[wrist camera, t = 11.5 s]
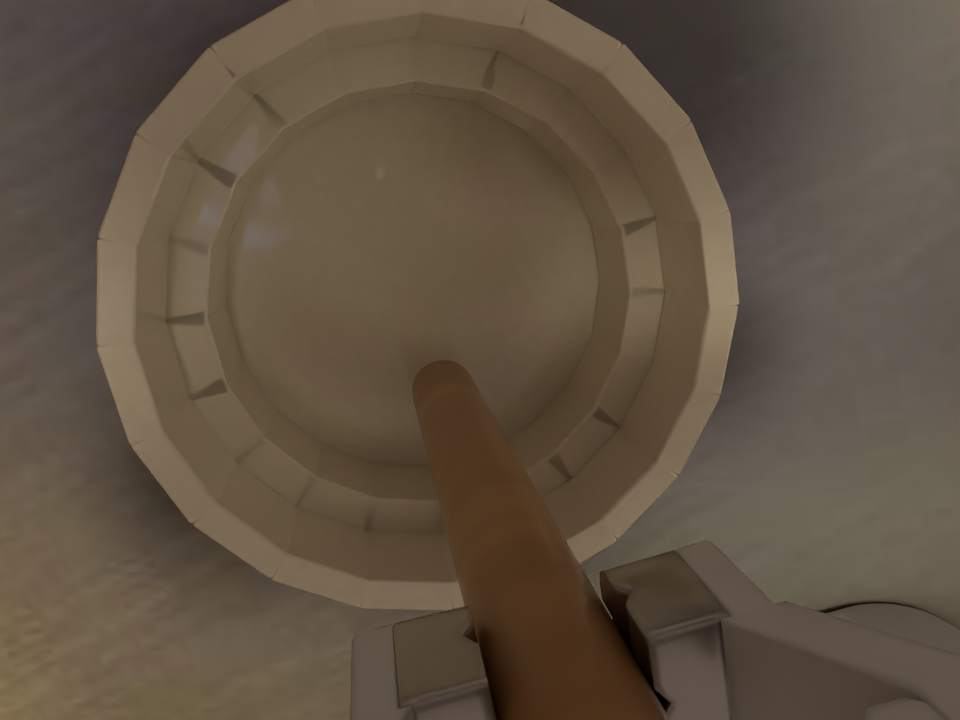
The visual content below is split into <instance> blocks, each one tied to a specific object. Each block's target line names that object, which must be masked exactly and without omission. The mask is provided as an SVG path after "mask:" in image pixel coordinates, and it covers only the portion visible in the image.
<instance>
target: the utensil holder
mask: <svg viewBox="0 0 960 720" xmlns="http://www.w3.org/2000/svg"><path fill="white" fill-rule="evenodd" d="M825 614H829V615H832V616H835V617H839V618H842V619H845V620H848V621H852V622H855V623H858V624H862V625H865V626H868V627H872V628H875V629H878V630H881V631H885V632H888V633H891V634H895V635H898V636H901V637H905V638H908V639H911V640H914V641H918V642H921V643H924V644H928V645H931V646H934V647H937V648H941V649H944V650H947V651H951V652H954V653H957V654H960V630H959V629H957V628H955V627H954V626H952V625H951V624H949V623H947V622H946V621H944V620H942V619H940V618H938V617H936V616H934V615H932V614H930V613H927V612H924V611H922V610H919V609H915V608H911V607H907V606H901V605H896V604H861V605H856V606H851V607H847V608H844V609H840V610H836V611H832V612H829V613H825Z"/></svg>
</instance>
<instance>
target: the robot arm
mask: <svg viewBox="0 0 960 720" xmlns="http://www.w3.org/2000/svg"><path fill="white" fill-rule="evenodd" d="M600 587H601V593H602V600H603V602H604V603H605V605H606V607H607V609H608V610H609V612H610V614H611V616H612V618H613V619H612V621H613V622H614V624H615V626H616V627H617V629H618V631H619V633H620V634H621V636H622V638H623V639H624V641H625V643H626V645H627V646H628V648H629V650H630V652H631V653H632V655H633V657H634V658H635V660H636V662H637V664H638V665H639V667H640V669H641V670H642V672H643V674H644V676H645V677H646V679H647V681H648V683H649V684H650V686H651V688H652V689H653V691H654V693H655V695H656V696H657V698H658V700H659V701H660V703H661V705H662V707H663V708H664V710H665V712H666V713H667V715H668V717H669V719H670V720H960V654H957V653H954V652H951V651H947V650H944V649H941V648H937V647H934V646H931V645H928V644H924V643H921V642H918V641H914V640H911V639H908V638H905V637H901V636H898V635H895V634H891V633H888V632H885V631H881V630H878V629H875V628H872V627H868V626H865V625H862V624H858V623H855V622H852V621H848V620H845V619H842V618H839V617H835V616H832V615H829V614H825V613H822V612H819V611H815V610H812V609H809V608H806V607H802V606H799V605H796V604H792V603H789V602H786V601H785V602H781V603H777V604H774V603H773V602H772V601H771V600H770V599H769V598H768V597H767V596H766V595H765V594H764V593H763V592H762V591H761V590H760V589H759V588H758V587H757V586H756V585H755V584H754V583H753V582H751V581H750V580H749V579H748V578H747V577H746V576H745V575H744V574H743V573H742V572H741V571H740V570H739V569H738V568H737V567H736V566H735V565H734V564H733V563H732V562H731V561H730V560H729V559H728V558H727V557H726V556H725V555H724V554H723V553H722V552H721V551H720V550H719V549H718V548H717V547H716V546H715V545H714V544H713V543H712V542H710V541H706V540H705V541H701V542H698V543H695V544H692V545H688V546H685V547H682V548H679V549H675V550H672V551H670V552H667V553H663V554H660V555H656V556H653V557H650V558H646V559H643V560H639V561H636V562H632V563H629V564H626V565H622V566H619V567H615V568H612V569H608V570H605V571H601V572H600ZM350 720H497V719H496V714H495V710H494V706H493V702H492V697H491V693H490V689H489V684H488V680H487V676H486V672H485V668H484V664H483V660H482V656H481V651H480V647H479V644H478V642H477V637H476V633H475V629H474V624H473V620H472V617H471V613H470V609H469V606H465V607H460V608H456V609H452V610H448V611H444V612H440V613H436V614H432V615H428V616H423V617H419V618H415V619H411V620H407V621H403V622H399V623H395V624H394V626H393V625H391V624H389V625H386V626H382V627H378V628H375V629H371V630H368V631H364V632H360V633H357V634H355V635H354V637H353V639H352V657H351V708H350Z"/></svg>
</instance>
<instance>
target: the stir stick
mask: <svg viewBox="0 0 960 720" xmlns="http://www.w3.org/2000/svg"><path fill="white" fill-rule="evenodd" d="M412 396H413V401H414V405H415V409H416V413H417V417H418V421H419V425H420V429H421V433H422V437H423V441H424V445H425V449H426V453H427V457H428V461H429V465H430V469H431V473H432V477H433V481H434V485H435V489H436V493H437V497H438V501H439V505H440V509H441V513H442V517H443V521H444V525H445V530H446V534H447V538H448V542H449V546H450V550H451V554H452V558H453V562H454V566H455V570H456V574H457V578H458V582H459V586H460V590H461V594H462V598H463V602H464V606H469V609H470V613H471V617H472V620H473V624H474V629H475V633H476V637H477V642H478V644H479V647H480V651H481V656H482V660H483V664H484V668H485V672H486V676H487V680H488V684H489V689H490V693H491V697H492V702H493V706H494V710H495V714H496V719H497V720H670V719H669V717H668V715H667V713H666V712H665V710H664V708H663V707H662V705H661V703H660V701H659V700H658V698H657V696H656V695H655V693H654V691H653V689H652V688H651V686H650V684H649V683H648V681H647V679H646V677H645V676H644V674H643V672H642V670H641V669H640V667H639V665H638V664H637V662H636V660H635V658H634V657H633V655H632V653H631V652H630V650H629V648H628V646H627V645H626V643H625V641H624V639H623V638H622V636H621V634H620V633H619V631H618V629H617V627H616V626H615V624H614V622H613V621H612V619H611V617H610V615H609V614H608V612H607V610H606V608H605V607H604V605H603V603H602V602H601V600H600V598H599V596H598V595H597V593H596V591H595V590H594V588H593V586H592V584H591V583H590V581H589V579H588V578H587V576H586V574H585V572H584V571H583V569H582V567H581V565H580V564H579V562H578V560H577V559H576V557H575V555H574V553H573V552H572V550H571V548H570V547H569V545H568V543H567V541H566V540H565V538H564V536H563V534H562V533H561V531H560V529H559V528H558V526H557V524H556V522H555V521H554V519H553V517H552V516H551V514H550V512H549V510H548V509H547V507H546V505H545V503H544V502H543V500H542V498H541V497H540V495H539V493H538V491H537V490H536V488H535V486H534V485H533V483H532V481H531V479H530V478H529V476H528V474H527V473H526V471H525V469H524V467H523V466H522V464H521V462H520V460H519V459H518V457H517V455H516V454H515V452H514V450H513V448H512V447H511V445H510V443H509V442H508V440H507V438H506V436H505V435H504V433H503V431H502V429H501V428H500V426H499V424H498V423H497V421H496V419H495V417H494V416H493V414H492V412H491V411H490V409H489V407H488V405H487V404H486V402H485V400H484V398H483V397H482V395H481V393H480V392H479V390H478V388H477V386H476V385H475V383H474V381H473V380H472V378H471V376H470V374H469V373H468V371H467V370H466V369H465V368H464V367H463V366H461V365H460V364H458V363H456V362H453V361H449V360H439V361H434V362H431V363H429V364H427V365H426V366H424V367H423V368H422V369H421V370H420V371H419V372H418V374H417V375H416V377H415V379H414V381H413V385H412Z"/></svg>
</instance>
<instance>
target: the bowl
mask: <svg viewBox="0 0 960 720" xmlns="http://www.w3.org/2000/svg"><path fill="white" fill-rule="evenodd" d="M210 47H211V48H210ZM210 47H208V48H206V50H205V51H204V52H203V53H202V54H201V56H200V57H199V58H198V59H197V60H196V61H195V63H194V64H193V65H192V66H191V67H190V69H189V70H188V71H187V72H186V73H185V74H184V76H183V77H182V78H181V79H180V80H179V82H178V83H177V84H176V85H175V86H174V87H173V89H172V90H171V91H170V92H169V93H168V94H167V96H166V97H165V98H164V99H163V100H162V102H161V103H160V104H159V105H158V106H157V107H156V109H155V110H154V111H153V112H152V113H151V115H150V116H149V117H148V118H147V119H146V120H145V122H144V123H143V124H142V125H141V126H140V128H139V129H138V130H137V132H136V133H137V135H135V136H134V138H133V141H132V143H131V146H130V149H129V151H128V154H127V157H126V160H125V162H124V165H123V168H122V170H121V173H120V176H119V179H118V181H117V184H116V187H115V189H114V192H113V195H112V198H111V200H110V203H109V206H108V208H107V211H106V214H105V217H104V219H103V222H102V225H101V228H100V230H99V233H98V237H99V238H100V239H98V241H97V279H96V343H97V345H98V347H97V351H98V354H99V357H100V360H101V363H102V366H103V369H104V371H105V374H106V377H107V380H108V383H109V386H110V389H111V392H112V395H113V398H114V401H115V403H116V406H117V409H118V412H119V415H120V418H121V421H122V424H123V427H124V430H125V433H126V436H127V438H128V441H129V443H130V444H132V445H131V446H132V448H133V450H134V451H135V452H136V454H137V455H138V456H139V458H140V459H141V460H142V461H143V463H144V464H145V465H146V467H147V468H148V469H149V471H150V472H151V473H152V474H153V476H154V477H155V478H156V480H157V481H158V482H159V484H160V485H161V486H162V487H163V489H164V490H165V491H166V493H167V494H168V495H169V497H170V498H171V499H172V500H173V502H174V503H175V504H176V506H177V507H178V508H179V510H180V511H181V512H182V513H183V515H184V516H185V517H186V519H187V520H188V521H189V522H190V523H193V525H194V526H195V527H196V528H197V529H199V530H200V531H202V532H203V533H204V534H206V535H207V536H209V537H210V538H212V539H213V540H215V541H216V542H217V543H219V544H220V545H222V546H223V547H225V548H226V549H228V550H229V551H231V552H232V553H233V554H235V555H236V556H238V557H239V558H241V559H242V560H244V561H245V562H246V563H248V564H249V565H251V566H252V567H254V568H255V569H257V570H258V571H260V572H261V573H262V574H264V575H265V576H267V577H269V578H271V577H272V580H273V581H276V582H279V583H282V584H285V585H288V586H291V587H295V588H298V589H301V590H304V591H307V592H310V593H314V594H317V595H320V596H323V597H326V598H329V599H333V600H336V601H339V602H342V603H345V604H349V605H352V606H355V607H358V608H360V607H361V608H362V609H411V610H452V608H453V609H456V608H460V607H464V602H463V598H462V594H461V590H460V586H459V582H458V578H457V574H456V570H455V566H454V562H453V558H452V554H451V550H450V546H449V542H448V538H447V534H446V530H445V525H444V521H443V517H442V513H441V509H440V505H439V501H438V497H437V493H436V489H435V485H434V481H433V477H432V473H431V469H430V465H429V461H428V457H427V453H426V449H425V445H424V441H423V437H422V433H421V429H420V425H419V421H418V417H417V413H416V409H415V405H414V401H413V396H412V385H413V381H414V379H415V377H416V375H417V374H418V372H419V371H420V370H421V369H422V368H423V367H424V366H426V365H427V364H429V363H431V362H434V361H439V360H449V361H453V362H456V363H458V364H460V365H461V366H463V367H464V368H465V369H466V370H467V371H468V373H469V374H470V376H471V378H472V380H473V381H474V383H475V385H476V386H477V388H478V390H479V392H480V393H481V395H482V397H483V398H484V400H485V402H486V404H487V405H488V407H489V409H490V411H491V412H492V414H493V416H494V417H495V419H496V421H497V423H498V424H499V426H500V428H501V429H502V431H503V433H504V435H505V436H506V438H507V440H508V442H509V443H510V445H511V447H512V448H513V450H514V452H515V454H516V455H517V457H518V459H519V460H520V462H521V464H522V466H523V467H524V469H525V471H526V473H527V474H528V476H529V478H530V479H531V481H532V483H533V485H534V486H535V488H536V490H537V491H538V493H539V495H540V497H541V498H542V500H543V502H544V503H545V505H546V507H547V509H548V510H549V512H550V514H551V516H552V517H553V519H554V521H555V522H556V524H557V526H558V528H559V529H560V531H561V533H562V534H563V536H564V538H565V540H566V541H567V543H568V545H569V547H570V548H571V550H572V552H573V553H574V555H575V557H576V559H577V560H578V562H579V563H581V562H583V561H585V560H586V559H588V558H590V557H591V556H593V555H595V554H596V553H598V552H600V551H601V550H603V549H605V548H606V547H608V546H610V545H612V544H613V543H615V542H616V539H619V538H620V537H621V536H622V535H623V534H624V533H625V532H626V530H627V529H628V528H629V527H630V526H631V525H632V524H633V523H634V522H635V521H636V520H637V519H638V518H639V517H640V516H641V515H642V514H643V513H644V512H645V511H646V510H647V508H648V507H649V506H650V505H651V504H652V503H653V502H654V501H655V500H656V499H657V498H658V497H659V496H660V495H661V494H662V493H663V492H664V491H665V490H666V489H667V487H668V486H669V485H670V484H671V483H672V482H673V481H674V480H675V479H676V478H677V475H679V474H680V473H681V471H682V469H683V467H684V465H685V463H686V461H687V459H688V457H689V456H690V454H691V452H692V450H693V448H694V446H695V444H696V442H697V440H698V438H699V437H700V435H701V433H702V431H703V429H704V427H705V425H706V423H707V421H708V419H709V417H710V416H711V414H712V412H713V410H714V408H715V406H716V404H717V402H718V400H719V398H720V396H719V394H721V391H722V386H723V381H724V376H725V371H726V366H727V361H728V356H729V351H730V346H731V341H732V336H733V331H734V326H735V321H736V316H737V311H738V306H737V305H739V296H738V286H737V275H736V265H735V255H734V245H733V235H732V224H731V214H730V211H728V210H729V208H728V205H727V203H726V201H725V198H724V196H723V194H722V191H721V189H720V187H719V184H718V182H717V180H716V177H715V175H714V173H713V170H712V168H711V166H710V163H709V161H708V159H707V156H706V154H705V152H704V149H703V147H702V145H701V142H700V140H699V138H698V135H697V133H696V131H695V128H694V126H693V124H692V122H691V121H690V118H689V117H688V115H687V114H686V113H685V112H684V111H683V110H682V109H681V108H680V106H679V105H678V104H677V103H676V102H675V101H674V100H673V98H672V97H671V96H670V95H669V94H668V93H667V92H666V91H665V89H664V88H663V87H662V86H661V85H660V84H659V83H658V81H657V80H656V79H655V78H654V77H653V76H652V75H651V74H650V72H649V71H648V70H647V69H646V68H645V67H644V66H643V64H642V63H641V62H640V61H639V60H638V59H637V58H636V57H635V55H634V54H633V53H632V52H631V51H630V50H629V49H628V48H627V46H626V45H625V44H622V45H621V42H620V41H618V40H617V39H615V38H613V37H611V36H610V35H608V34H606V33H604V32H603V31H601V30H599V29H597V28H596V27H594V26H592V25H590V24H589V23H587V22H585V21H583V20H582V19H580V18H578V17H576V16H575V15H573V14H571V13H569V12H567V11H566V10H564V9H562V8H560V7H559V6H557V5H555V4H553V3H552V2H550V1H548V0H289V1H287V2H285V3H283V4H282V5H280V6H278V7H276V8H275V9H273V10H271V11H269V12H268V13H266V14H264V15H262V16H261V17H259V18H257V19H255V20H253V21H252V22H250V23H248V24H246V25H245V26H243V27H241V28H239V29H238V30H236V31H234V32H232V33H231V34H229V35H227V36H225V37H224V38H222V39H220V40H218V41H216V42H215V43H213V44H212V45H211V46H210Z"/></svg>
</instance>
